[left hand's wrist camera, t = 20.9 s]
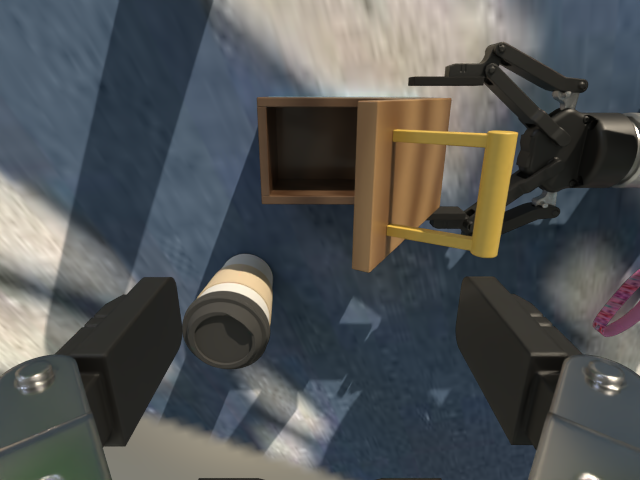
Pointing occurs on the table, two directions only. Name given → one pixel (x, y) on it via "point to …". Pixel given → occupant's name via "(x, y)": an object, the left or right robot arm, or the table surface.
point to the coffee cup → (232, 314)
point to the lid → (420, 179)
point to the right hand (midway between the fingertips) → (405, 151)
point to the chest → (309, 148)
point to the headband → (614, 305)
